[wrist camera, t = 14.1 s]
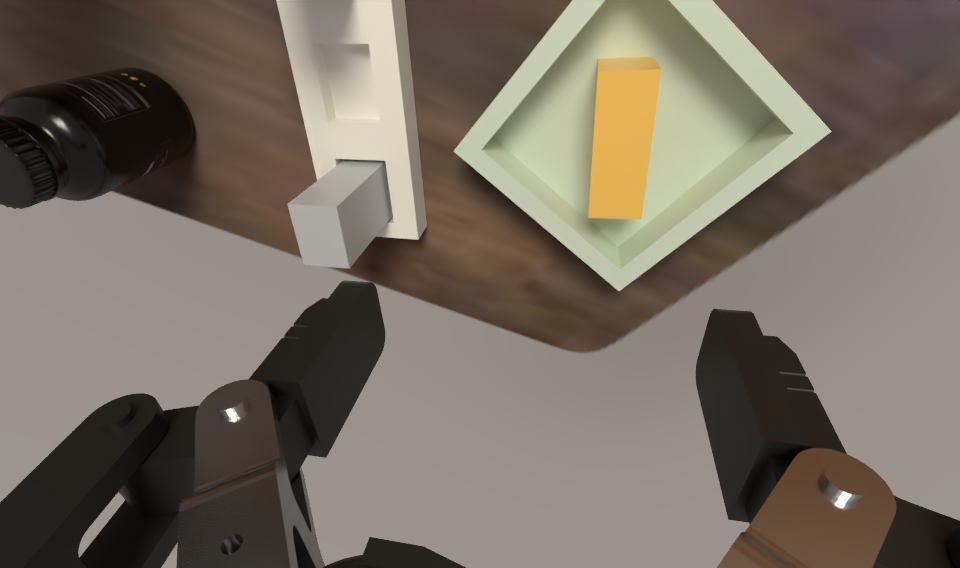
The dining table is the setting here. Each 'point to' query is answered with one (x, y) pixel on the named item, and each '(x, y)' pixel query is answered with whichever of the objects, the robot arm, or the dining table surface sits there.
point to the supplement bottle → (88, 135)
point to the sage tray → (676, 135)
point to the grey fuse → (342, 213)
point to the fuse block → (359, 94)
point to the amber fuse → (622, 135)
